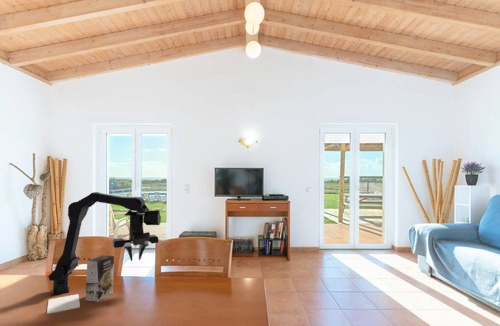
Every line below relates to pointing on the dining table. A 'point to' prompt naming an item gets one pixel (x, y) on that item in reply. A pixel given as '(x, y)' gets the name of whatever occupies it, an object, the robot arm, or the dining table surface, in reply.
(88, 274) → the coffee box
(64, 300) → the mat
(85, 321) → the dining table surface
